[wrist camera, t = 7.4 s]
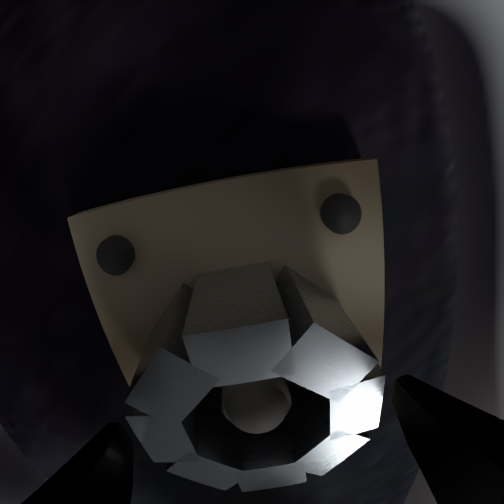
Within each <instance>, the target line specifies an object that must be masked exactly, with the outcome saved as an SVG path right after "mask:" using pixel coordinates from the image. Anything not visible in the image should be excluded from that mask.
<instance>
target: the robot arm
mask: <svg viewBox="0 0 504 504" xmlns="http://www.w3.org/2000/svg"><path fill="white" fill-rule="evenodd" d="M392 403H393V406H394V409H395V411H396V414H397V417H398V419H399V422H400V425H401V427H402V430H403V433H404V436H405V438H406V441H407V443H408V446H409V448H410V450H411V452H412V454H413V456H414V458H415V460H416V461H417V463H418V465H419V467H420V469H421V471H422V473H423V475H424V477H425V479H426V481H427V483H428V485H429V487H430V489H431V491H432V493H433V495H434V497H435V500H436V502H437V504H504V420H502V419H501V420H500V419H499V418H498V417H496V416H493V415H491V414H489V413H487V412H485V411H483V410H481V409H478V408H476V407H474V406H472V405H470V404H468V403H466V402H464V401H462V400H459V399H457V398H455V397H453V396H451V395H449V394H447V393H445V392H443V391H441V390H439V389H437V388H435V387H433V386H431V385H429V384H427V383H425V382H423V381H421V380H419V379H417V378H415V377H413V376H411V375H404V376H401V377H398V378H396V379H395V381H394V387H393V394H392ZM133 456H134V443H133V440H132V438H131V437H130V435H129V434H128V432H127V430H126V429H125V427H124V426H123V425H122V424H121V423H109V424H107V425H106V426H105V427H104V428H103V429H102V430H101V431H100V432H99V433H97V434H96V435H95V436H94V437H93V438H92V439H91V440H90V441H89V442H88V443H87V444H86V445H85V446H84V447H83V448H82V449H81V450H79V451H78V452H77V453H76V454H75V455H74V456H73V457H72V458H71V459H70V460H69V461H68V462H67V463H66V464H64V465H63V466H62V467H61V468H60V469H59V470H58V471H57V472H56V473H55V474H54V475H53V476H51V477H50V478H49V479H48V480H47V481H46V482H45V483H44V484H43V485H42V486H41V487H39V489H38V490H36V491H35V492H34V493H33V494H32V495H30V496H29V497H28V498H27V499H26V500H25V501H23V502H22V503H21V504H130V503H131V496H132V487H133Z"/></svg>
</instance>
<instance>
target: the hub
mask: <svg viewBox="0 0 504 504" xmlns="http://www.w3.org/2000/svg"><path fill="white" fill-rule="evenodd" d="M378 362H379V361H378V359H377V358H376V356H375V355H374V353H373V352H372V350H371V349H370V347H369V346H368V344H367V343H366V341H365V340H364V338H363V337H362V335H361V334H360V333H359V331H358V330H357V328H356V327H355V325H354V324H353V322H352V321H351V320H350V318H349V317H348V315H347V314H346V312H345V311H344V309H343V308H342V307H341V305H340V304H339V302H338V301H337V299H335V298H334V297H332V296H331V295H329V294H328V293H326V292H325V291H324V290H322V289H321V288H319V287H318V286H316V285H315V284H313V283H312V282H310V281H309V280H307V279H306V278H304V277H303V276H301V275H300V274H299V273H297V272H296V271H294V270H293V269H291V268H290V267H288V266H287V265H285V266H284V268H283V269H282V270H281V272H280V273H279V274H278V275H277V277H276V278H275V279H274V277H273V274H272V271H271V268H270V266H269V263H268V261H266V262H261V263H255V264H250V265H244V266H238V267H233V268H227V269H221V270H216V271H210V272H204V273H198V274H197V278H196V282H195V286H194V289H192V288H190V287H189V286H187V285H186V284H184V283H183V284H182V285H181V287H180V288H179V290H178V291H177V293H176V294H175V296H174V297H173V299H172V300H171V302H170V303H169V305H168V306H167V308H166V309H165V311H164V312H163V314H162V315H161V317H160V318H159V320H158V321H157V323H156V325H155V326H154V328H153V329H152V331H151V333H150V336H149V338H148V340H147V343H146V346H145V348H144V351H143V353H142V356H141V358H140V361H139V363H138V366H137V369H136V371H135V374H134V376H133V379H132V382H131V385H130V387H129V390H128V393H127V395H126V398H125V401H124V403H126V404H128V407H127V410H126V413H125V418H126V420H127V421H128V423H129V425H130V426H131V428H132V430H133V431H134V433H135V435H136V436H137V438H138V439H139V441H140V442H141V444H142V446H143V447H144V449H145V450H146V452H147V453H148V455H149V456H150V458H151V459H152V460H153V462H167V469H166V471H168V472H170V473H173V474H176V475H178V476H181V477H184V478H187V479H190V480H192V481H195V482H198V483H202V484H205V485H208V486H211V487H215V488H218V489H221V490H225V491H226V490H227V489H229V488H231V487H232V486H234V485H235V484H237V483H238V484H239V486H240V488H241V490H242V492H246V491H255V490H262V489H270V488H276V487H282V486H288V485H293V484H299V483H304V482H306V472H307V473H311V474H316V475H321V476H322V475H324V474H325V473H326V472H328V471H329V470H331V469H332V468H333V467H335V466H336V465H338V464H339V463H340V462H342V461H343V460H344V459H346V458H347V457H348V456H350V455H351V454H352V453H353V452H355V451H356V450H357V449H359V448H360V447H361V446H362V445H364V444H365V443H366V442H367V441H368V440H370V438H369V436H368V434H367V431H368V430H371V429H374V428H377V427H378V426H379V420H380V413H381V406H382V399H383V392H384V383H385V373H384V372H383V370H382V369H381V367H380V366H379V364H378ZM276 377H283V378H286V379H288V380H289V381H288V382H287V384H288V388H289V392H290V396H291V401H292V404H291V408H290V411H289V412H288V414H287V415H286V416H285V417H284V419H283V421H282V422H281V423H280V424H279V425H278V426H277V427H276V428H274V429H273V430H271V431H268V432H265V433H260V434H254V433H248V432H245V431H243V430H241V429H239V428H238V427H236V426H235V425H234V424H233V423H232V422H231V421H229V420H228V419H227V418H226V417H225V415H224V413H223V411H222V389H221V388H219V386H227V385H234V384H240V383H247V382H253V381H259V380H265V379H271V378H276Z"/></svg>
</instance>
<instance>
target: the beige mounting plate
mask: <svg viewBox="0 0 504 504" xmlns="http://www.w3.org/2000/svg"><path fill="white" fill-rule="evenodd" d="M67 219H68V223H69V227H70V231H71V234H72V238H73V242H74V245H75V249H76V252H77V255H78V259H79V262H80V265H81V268H82V271H83V274H84V277H85V280H86V283H87V286H88V289H89V292H90V295H91V298H92V301H93V303H94V306H95V309H96V311H97V314H98V317H99V319H100V322H101V324H102V327H103V329H104V332H105V334H106V336H107V339H108V341H109V344H110V346H111V348H112V350H113V353H114V355H115V357H116V359H117V362H118V364H119V366H120V368H121V370H122V372H123V375H124V377H125V379H126V381H127V383H128V385H129V387H130V385H131V382H132V379H133V376H134V374H135V371H136V369H137V366H138V363H139V361H140V358H141V356H142V353H143V351H144V348H145V346H146V343H147V340H148V338H149V336H150V333H151V331H152V329H153V328H154V326H155V325H156V323H157V321H158V320H159V318H160V317H161V315H162V314H163V312H164V311H165V309H166V308H167V306H168V305H169V303H170V302H171V300H172V299H173V297H174V296H175V294H176V293H177V291H178V290H179V288H180V287H181V285H182V284H183V283H184V284H186V285H187V286H189V287H190V288H192V289H194V286H195V282H196V278H197V274H198V273H204V272H210V271H216V270H221V269H227V268H233V267H238V266H244V265H250V264H255V263H261V262H266V261H268V263H269V266H270V268H271V271H272V274H273V277H274V279H275V278H276V277H277V275H278V274H279V273H280V272H281V270H282V269H283V268H284V266H285V265H287V266H288V267H290V268H291V269H293V270H294V271H296V272H297V273H299V274H300V275H301V276H303V277H304V278H306V279H307V280H309V281H310V282H312V283H313V284H315V285H316V286H318V287H319V288H321V289H322V290H324V291H325V292H326V293H328V294H329V295H331V296H332V297H334V298H335V299H337V301H338V302H339V304H340V305H341V307H342V308H343V309H344V311H345V312H346V314H347V315H348V317H349V318H350V320H351V321H352V322H353V324H354V325H355V327H356V328H357V330H358V331H359V333H360V334H361V335H362V337H363V338H364V340H365V341H366V343H367V344H368V346H369V347H370V349H371V350H372V352H373V353H374V355H375V356H376V358H377V359H378V361H379V362H378V364H379V366H380V367H381V362H382V347H383V329H384V238H383V219H382V205H381V192H380V182H379V172H378V163H377V159H367V158H360V159H351V160H342V161H333V162H325V163H317V164H310V165H303V166H296V167H289V168H282V169H276V170H269V171H263V172H257V173H251V174H245V175H240V176H234V177H229V178H223V179H218V180H213V181H208V182H203V183H198V184H193V185H188V186H183V187H179V188H174V189H169V190H165V191H160V192H156V193H152V194H147V195H143V196H139V197H135V198H131V199H127V200H123V201H119V202H115V203H111V204H107V205H103V206H100V207H96V208H92V209H88V210H85V211H82V212H79V213H77V214H75V215H73V216H70V217H68V218H67ZM288 381H289V380H288V379H286V378H283V377H276V378H271V379H265V380H259V381H253V382H247V383H240V384H234V385H227V386H219V388H221V389H222V411H223V413H224V415H225V417H226V418H227V419H228V420H229V421H231V422H232V423H233V424H234V425H235V426H236V427H238V428H239V429H241V430H243V431H245V432H248V433H254V434H260V433H265V432H268V431H271V430H273V429H274V428H276V427H277V426H278V425H279V424H280V423H281V422H282V421H283V419H284V417H285V416H286V415H287V414H288V412H289V411H290V408H291V404H292V401H291V396H290V392H289V388H288V384H287V382H288Z"/></svg>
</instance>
